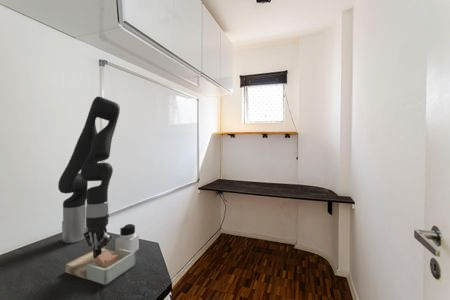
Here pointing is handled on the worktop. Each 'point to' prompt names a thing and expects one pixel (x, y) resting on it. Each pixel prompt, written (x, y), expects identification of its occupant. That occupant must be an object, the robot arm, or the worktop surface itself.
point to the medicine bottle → (128, 238)
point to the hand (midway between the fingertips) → (97, 257)
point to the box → (111, 267)
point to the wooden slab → (83, 264)
